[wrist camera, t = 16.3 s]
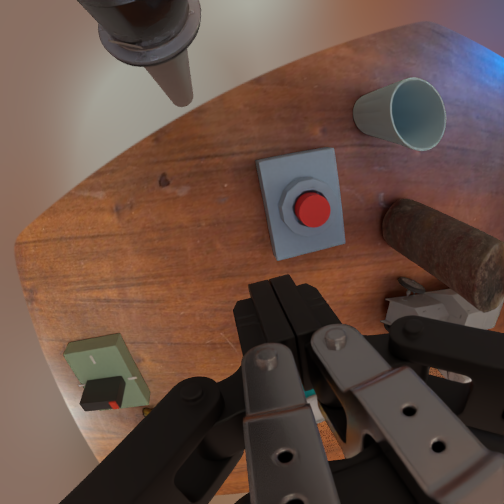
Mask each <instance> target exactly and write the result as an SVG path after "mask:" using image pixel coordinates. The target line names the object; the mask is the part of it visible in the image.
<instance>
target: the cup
mask: <svg viewBox="0 0 504 504" xmlns="http://www.w3.org/2000/svg"><path fill="white" fill-rule="evenodd" d="M353 118H354V121H355V123H356V125H357V127H358V128H359V129H360V130H361V131H362V132H363V133H364V134H367V135H370V136H373V137H377V138H380V139H383V140H387V141H390V142H393V143H396V144H400V145H402V146H405V147H408V148H411V149H414V150H417V151H426V150H429V149H431V148H433V147H434V146H436V145H437V144H438V143H439V141H440V140H441V138H442V136H443V134H444V131H445V127H446V112H445V107H444V104H443V101H442V99H441V97H440V95H439V93H438V92H437V90H436V89H435V88H434V87H433V86H432V85H431V84H430V83H428V82H427V81H425V80H423V79H420V78H407V79H404V80H401V81H399V82H396V83H394V84H391V85H388V86H386V87H383V88H381V89H378V90H376V91H373V92H371V93H368V94H366V95H363V96H362V97H360V98H359V99H358V100H357V101H356V103H355V105H354V108H353Z"/></svg>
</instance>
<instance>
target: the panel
mask: <svg viewBox="0 0 504 504" xmlns="http://www.w3.org/2000/svg"><path fill="white" fill-rule="evenodd" d="M63 356H64V357H65V359H66V361H67V362H68V364H69V366H70V367H71V369H72V370H73V372H74V374H75V375H76V377H77V378H78V380H79V381H80V383H81V384H78V386H79V387H81V386H83V388H85V385H86V382H87V380H95V379H102V378H109V377H116V376H122V377H123V379H124V381H125V383H126V386H125V391H124V396H123V401H122V406H121V408H128V407H136V406H144V405H149V399H150V390H149V388H148V387H147V385H146V383H145V381H144V379H143V378H142V376H141V374H140V372H139V370H138V368H137V366H136V364H135V363H134V361H133V359H132V357H131V355H130V353H129V351H128V349H127V347H126V345H125V343H124V341H123V339H122V337H121V335H120V333H117V334H112V335H107V336H102V337H97V338H91V339H86V340H81V341H75V342H70V343H68V345H67V347H66V349H65V351H64V354H63ZM119 409H120V408H119ZM105 410H111V409H105ZM99 411H101V410H99Z"/></svg>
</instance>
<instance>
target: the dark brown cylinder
mask: <svg viewBox="0 0 504 504" xmlns="http://www.w3.org/2000/svg"><path fill="white" fill-rule="evenodd" d="M382 225H383V228H382V229H383V237H384V239H385V241H386V242H387V244H388V245H389V246H391V247H392V248H394V249H395V250H396V251H398V252H399V253H401V254H402V255H404V256H405V257H407V258H408V259H410V260H411V261H413V262H414V263H416V264H417V265H418V266H420V267H421V268H423V269H424V270H426V271H427V272H429V273H430V274H432V275H433V276H435V277H436V278H437V279H438V280H440V281H441V282H443V283H444V284H445V285H447V286H448V287H449V288H451V289H452V290H453V291H454V292H456V293H457V294H459V295H460V296H461V297H463V298H464V299H465V300H466V301H468V302H469V303H470V304H471V305H473V306H474V307H475V308H476V309H478V310H479V311H481V312H483V313H485V312H489V311H491V310H494V309H496V308H497V307H498V306H499V305H500V303H501V302H502V300H503V298H504V242H502V241H500V240H498V239H496V238H494V237H493V236H491V235H488V234H486V233H484V232H482V231H480V230H479V229H476V228H474V227H472V226H470V225H468V224H466V223H463V222H461V221H459V220H457V219H455V218H453V217H450V216H448V215H446V214H444V213H442V212H439V211H437V210H435V209H433V208H431V207H428V206H426V205H424V204H421V203H419V202H416V201H414V200H410V199H400V200H398V201H396V202H395V203H393V205H392V206H391V207H390V209H389V210H388V211H387V213H386V215H385V217H384V219H383V224H382Z"/></svg>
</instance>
